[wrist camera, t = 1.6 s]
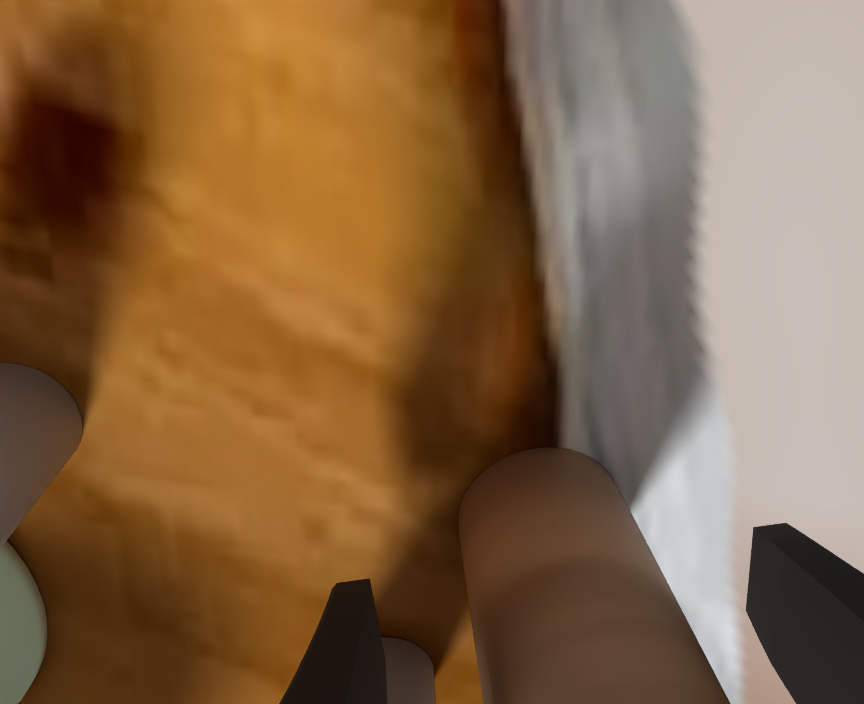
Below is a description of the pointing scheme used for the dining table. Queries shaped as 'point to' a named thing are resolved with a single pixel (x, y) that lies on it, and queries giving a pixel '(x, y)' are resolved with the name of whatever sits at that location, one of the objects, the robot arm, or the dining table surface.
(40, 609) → the coaster
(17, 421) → the post
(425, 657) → the post
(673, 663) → the dowel
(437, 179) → the dining table surface
